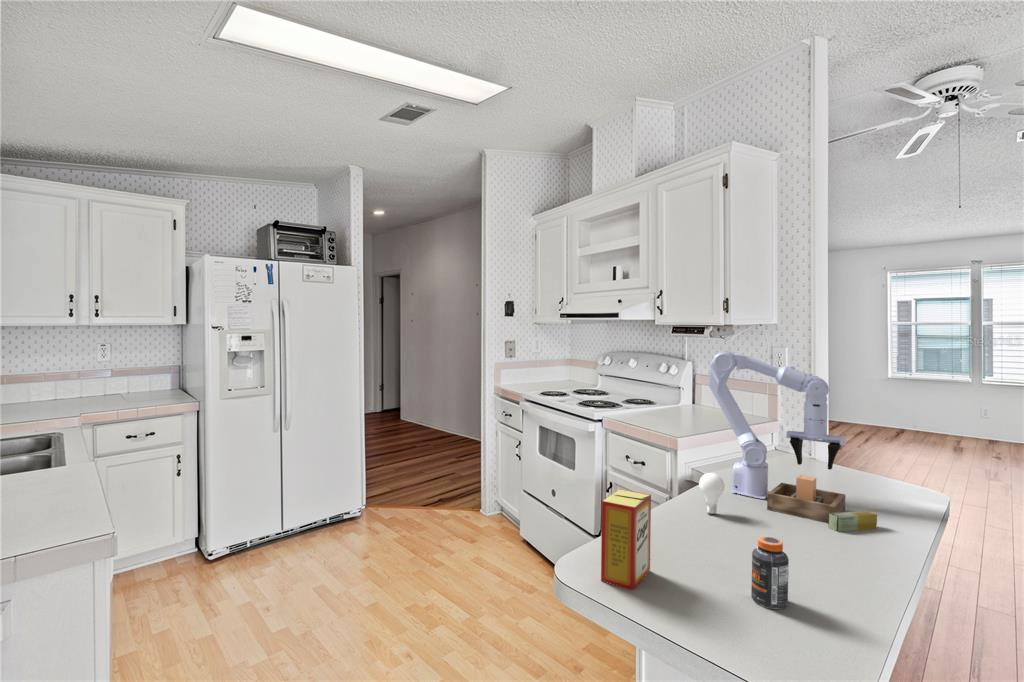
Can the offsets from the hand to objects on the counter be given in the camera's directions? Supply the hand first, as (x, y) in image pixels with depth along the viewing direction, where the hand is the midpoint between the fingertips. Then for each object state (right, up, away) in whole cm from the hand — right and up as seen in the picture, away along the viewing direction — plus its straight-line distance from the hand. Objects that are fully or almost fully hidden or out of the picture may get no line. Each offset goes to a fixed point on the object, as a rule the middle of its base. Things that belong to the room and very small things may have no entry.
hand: (814, 466), depth 149 cm
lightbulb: (-34, -11, -10) cm, 37 cm away
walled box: (-6, -11, -7) cm, 14 cm away
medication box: (-2, -11, -19) cm, 22 cm away
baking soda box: (-64, -11, -46) cm, 80 cm away
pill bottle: (-40, -11, -55) cm, 69 cm away
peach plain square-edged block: (-6, -10, -7) cm, 13 cm away
